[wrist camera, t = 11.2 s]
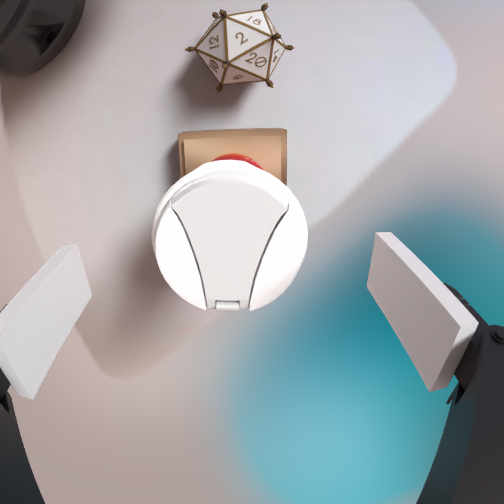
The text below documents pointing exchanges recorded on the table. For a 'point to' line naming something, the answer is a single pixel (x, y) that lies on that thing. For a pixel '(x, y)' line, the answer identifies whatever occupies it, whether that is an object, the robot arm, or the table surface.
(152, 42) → the table surface
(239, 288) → the coffee cup
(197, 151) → the plinth
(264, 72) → the game die
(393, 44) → the table surface
